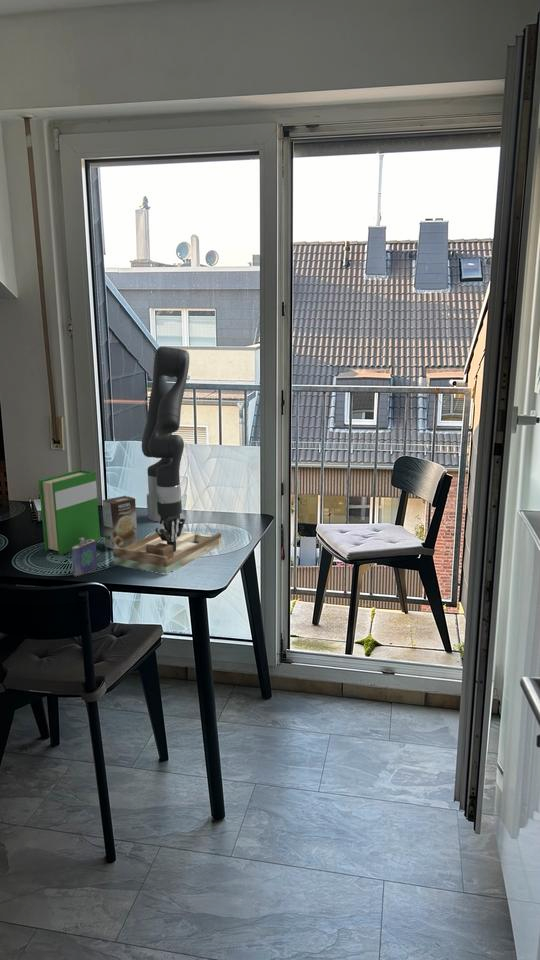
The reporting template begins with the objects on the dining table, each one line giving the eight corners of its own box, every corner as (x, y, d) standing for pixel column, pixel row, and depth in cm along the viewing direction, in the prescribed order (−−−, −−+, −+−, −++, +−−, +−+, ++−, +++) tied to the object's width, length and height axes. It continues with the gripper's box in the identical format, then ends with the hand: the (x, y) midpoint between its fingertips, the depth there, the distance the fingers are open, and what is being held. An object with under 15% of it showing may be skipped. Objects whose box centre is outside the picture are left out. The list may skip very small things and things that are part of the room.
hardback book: (60, 554, 224) (54, 483, 218) (45, 550, 228) (38, 480, 222) (100, 539, 238) (95, 472, 233) (85, 535, 242) (80, 469, 236)
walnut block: (150, 560, 211) (149, 547, 210) (160, 555, 215) (159, 542, 214) (163, 562, 208) (163, 550, 207) (173, 557, 213) (173, 545, 212)
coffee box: (114, 550, 227) (111, 503, 223) (104, 546, 231) (101, 500, 227) (138, 544, 233) (135, 498, 229) (127, 539, 238) (125, 494, 234)
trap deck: (114, 564, 214) (113, 547, 213) (172, 536, 241) (172, 521, 240) (166, 575, 205) (165, 557, 204) (221, 544, 232) (220, 528, 231)
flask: (78, 577, 204) (75, 543, 202) (70, 575, 206) (67, 541, 203) (99, 567, 212) (97, 534, 210) (92, 566, 214) (89, 533, 211)
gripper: (171, 492, 219) (174, 543, 223) (146, 502, 208) (149, 556, 212) (191, 494, 215) (193, 547, 220) (166, 505, 204) (169, 560, 208)
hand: (171, 551), depth 216 cm, fingers closed
